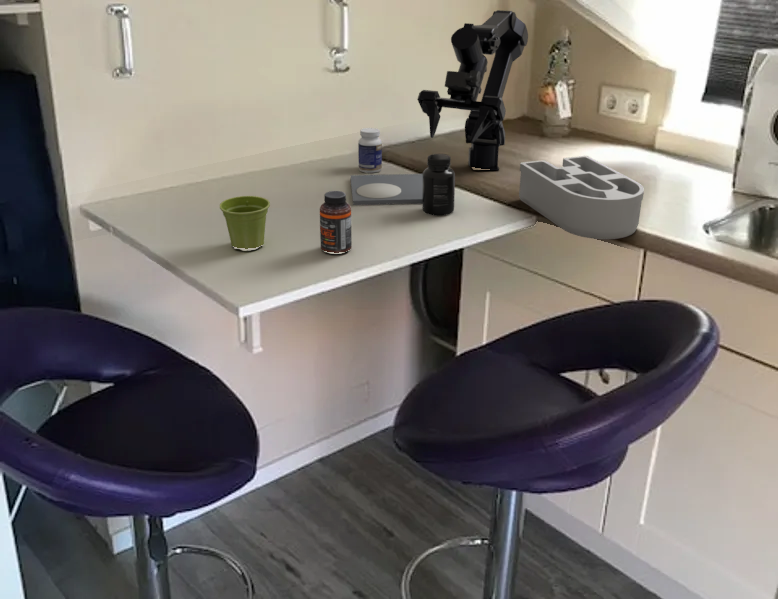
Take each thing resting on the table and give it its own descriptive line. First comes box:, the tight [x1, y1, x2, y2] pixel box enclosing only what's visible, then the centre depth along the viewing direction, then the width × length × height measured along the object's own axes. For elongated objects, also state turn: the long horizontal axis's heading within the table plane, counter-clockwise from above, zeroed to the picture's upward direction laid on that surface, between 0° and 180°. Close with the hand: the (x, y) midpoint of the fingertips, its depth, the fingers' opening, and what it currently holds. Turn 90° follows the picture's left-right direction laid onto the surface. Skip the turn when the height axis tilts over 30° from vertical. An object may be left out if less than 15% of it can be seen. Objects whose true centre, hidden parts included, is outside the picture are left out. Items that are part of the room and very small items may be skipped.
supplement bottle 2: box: [421, 153, 456, 217], centre depth 181 cm, size 7×7×12 cm
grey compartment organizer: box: [518, 155, 645, 240], centre depth 180 cm, size 17×28×9 cm, turn 19°
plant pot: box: [219, 195, 271, 249], centre depth 164 cm, size 9×9×9 cm
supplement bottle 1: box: [319, 190, 353, 253], centre depth 162 cm, size 6×6×11 cm
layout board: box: [350, 173, 423, 206], centre depth 196 cm, size 22×18×1 cm
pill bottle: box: [357, 127, 383, 174], centre depth 208 cm, size 6×6×10 cm
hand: (451, 139), depth 185 cm, fingers open, 9 cm apart
